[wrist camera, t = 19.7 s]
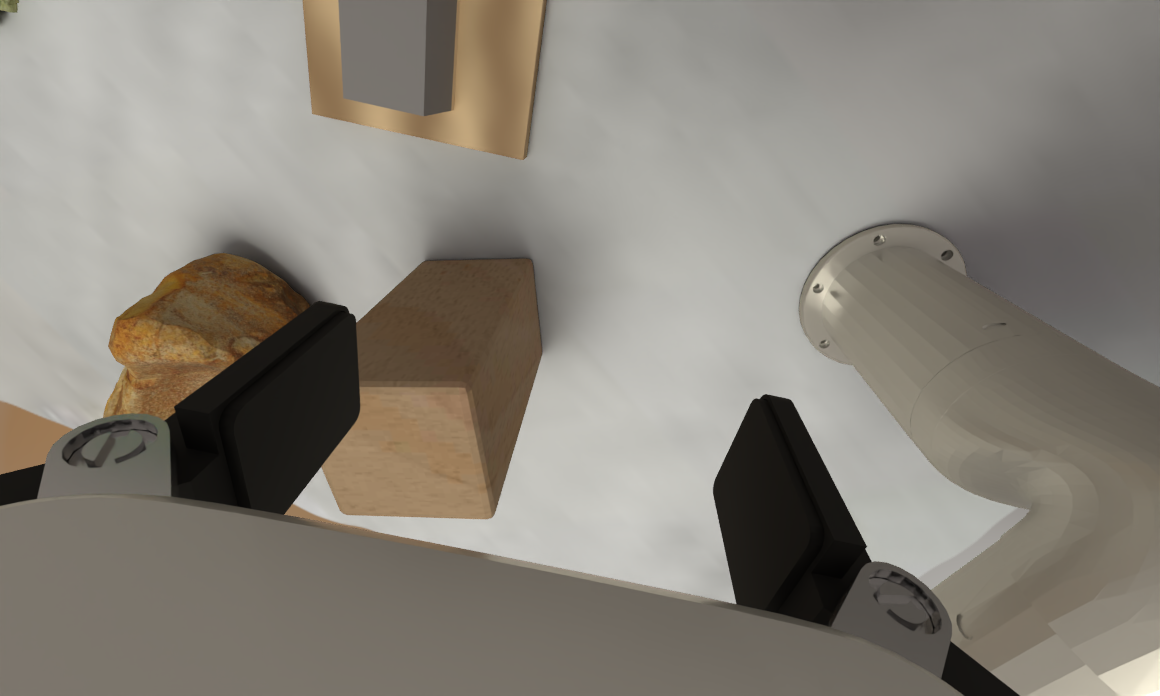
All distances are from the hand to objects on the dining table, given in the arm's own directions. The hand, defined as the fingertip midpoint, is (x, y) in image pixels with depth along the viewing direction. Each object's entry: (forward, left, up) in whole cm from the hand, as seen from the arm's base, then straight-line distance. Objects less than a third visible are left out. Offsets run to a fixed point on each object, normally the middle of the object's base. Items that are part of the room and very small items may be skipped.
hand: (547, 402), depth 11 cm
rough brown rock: (+28, +25, -31) cm, 48 cm away
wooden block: (+8, +14, -31) cm, 34 cm away
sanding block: (+14, -6, -29) cm, 33 cm away
